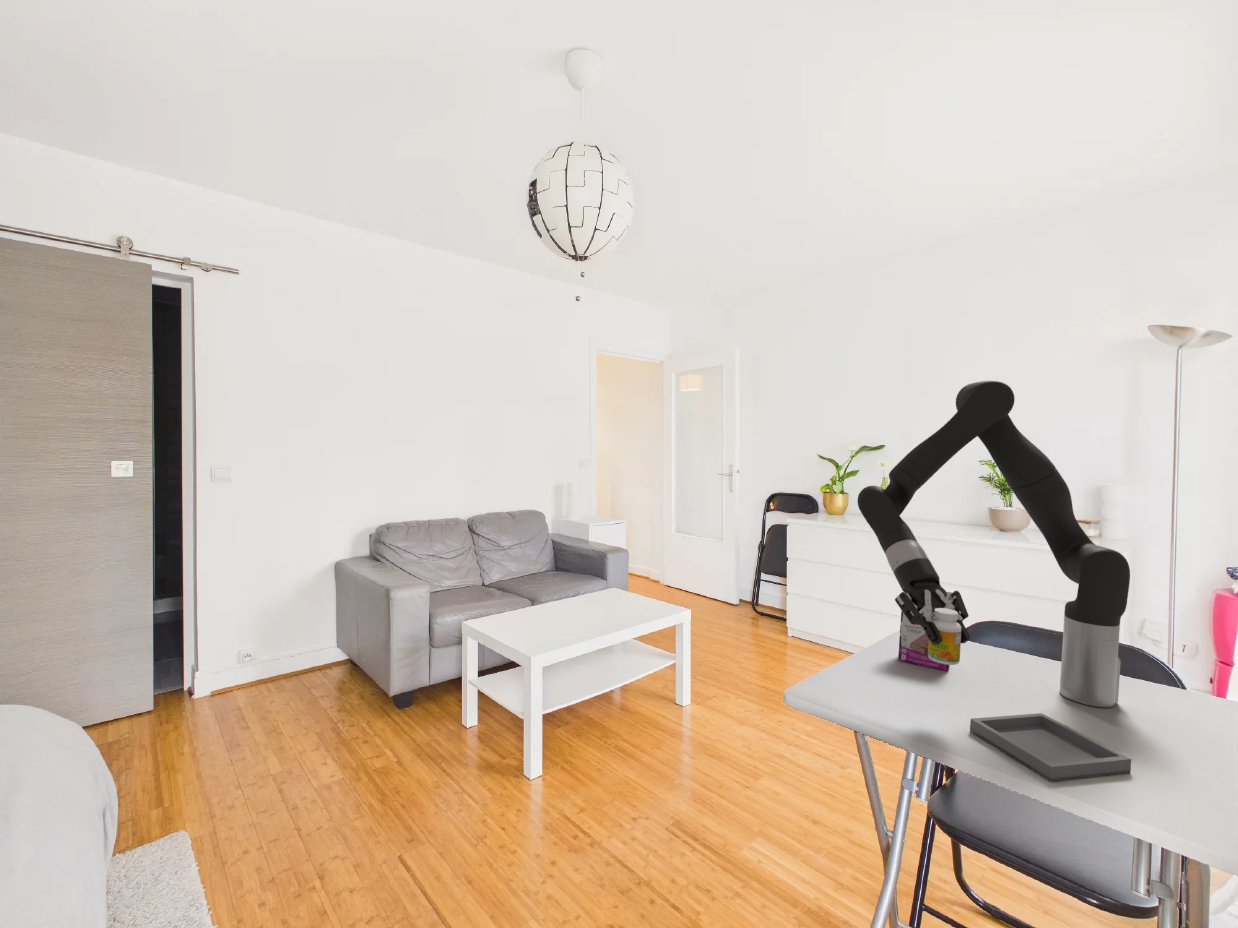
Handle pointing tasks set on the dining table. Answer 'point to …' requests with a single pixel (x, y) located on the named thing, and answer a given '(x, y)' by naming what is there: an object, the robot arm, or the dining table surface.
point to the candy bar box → (916, 645)
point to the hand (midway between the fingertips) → (951, 641)
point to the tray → (1050, 747)
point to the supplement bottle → (946, 637)
